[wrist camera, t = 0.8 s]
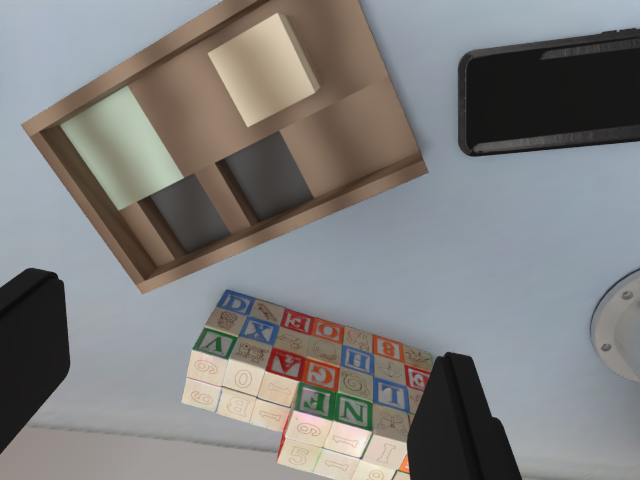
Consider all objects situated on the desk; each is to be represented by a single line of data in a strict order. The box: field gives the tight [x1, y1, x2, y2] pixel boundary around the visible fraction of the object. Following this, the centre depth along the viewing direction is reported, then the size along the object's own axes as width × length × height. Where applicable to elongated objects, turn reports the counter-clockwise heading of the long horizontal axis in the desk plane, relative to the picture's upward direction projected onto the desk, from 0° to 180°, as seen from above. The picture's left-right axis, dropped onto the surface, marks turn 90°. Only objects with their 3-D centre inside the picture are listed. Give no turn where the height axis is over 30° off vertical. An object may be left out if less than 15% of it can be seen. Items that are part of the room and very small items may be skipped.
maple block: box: [208, 13, 323, 127], centre depth 30 cm, size 5×5×5 cm
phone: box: [458, 28, 640, 157], centre depth 33 cm, size 8×1×15 cm
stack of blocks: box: [182, 290, 433, 480], centre depth 40 cm, size 21×6×12 cm, turn 73°
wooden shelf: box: [21, 0, 429, 294], centre depth 35 cm, size 26×16×5 cm, turn 116°
